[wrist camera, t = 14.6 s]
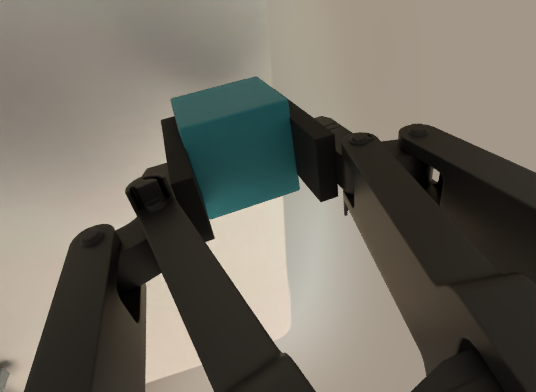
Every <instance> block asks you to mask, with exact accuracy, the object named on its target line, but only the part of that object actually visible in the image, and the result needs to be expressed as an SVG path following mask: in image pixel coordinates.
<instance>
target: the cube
mask: <svg viewBox="0 0 536 392" xmlns="http://www.w3.org/2000/svg"><path fill="white" fill-rule="evenodd" d="M171 104H172V108H173V111H174V115H175V119H176V123H177V127H178V131H179V133H180V136H181V139H182V142H183V145H184V148H185V149H186V152H187V155H188V158H189V161H190V164H191V167H192V169H193V172H194V175H195V178H196V181H197V184H198V187H199V190H200V192H201V195H202V198H203V201H204V204H205V207H206V211H207V214H208V217H209V219H214V218H217V217H220V216H223V215H226V214H229V213H232V212H235V211H238V210H241V209H244V208H247V207H250V206H253V205H256V204H259V203H262V202H265V201H268V200H271V199H274V198H277V197H280V196H283V195H286V194H289V193H292V192H295V191H298V190H299V189H300V187H299V179H298V174H297V168H296V161H295V154H294V146H293V139H292V132H291V124H290V112H289V104H288V99H287V98H285V97H284V96H283V95H281V94H280V93H279V92H277V91H276V90H274V89H273V88H272V87H270V86H269V85H268V84H266V83H265V82H263V81H262V80H261V79H259V78H258V77H256V76H255V77H252V78H248V79H244V80H240V81H236V82H232V83H229V84H225V85H221V86H217V87H213V88H210V89H206V90H202V91H198V92H194V93H190V94H187V95H183V96H179V97H175V98H172V99H171Z"/></svg>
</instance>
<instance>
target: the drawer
mask: <svg viewBox="0 0 536 392" xmlns="http://www.w3.org/2000/svg"><path fill="white" fill-rule="evenodd" d="M8 377H9V373H8V372H7V371H6V370H5V369H4V368H2V369H0V392H3V390H4V388H5V385H6V382H7V379H8Z"/></svg>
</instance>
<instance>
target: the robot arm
mask: <svg viewBox="0 0 536 392" xmlns="http://www.w3.org/2000/svg"><path fill="white" fill-rule="evenodd" d="M274 90H275V89H274ZM277 92H278V91H277ZM281 95H282V94H281ZM285 98H286V97H285ZM288 104H289V112H290V124H291V132H292V139H293V146H294V154H295V161H296V168H297V174H298V176H299V177H300V178H301V179H302V180H303V182H304V183H305V184H306V185H307V186H308V188H309V189H310V190H311V191H312V192H313V193H314V195H315V196H316V197H317V198H318V199H319V201H320V202H323V201H326V200H329V199H332V198H335V197H337V196H338V185H339V186H340V187H342V189H343V196H344V214H345V216H346V215H347V211H348V210H349V211H350V213H351V215H352V217H353V219H354V221H355V223H356V225H357V227H358V229H359V231H360V233H361V235H362V237H363V239H364V241H365V243H366V245H367V247H368V249H369V251H370V253H371V255H372V257H373V259H374V261H375V263H376V265H377V267H378V269H379V271H380V272H381V275H382V277H383V279H384V281H385V283H386V285H387V287H388V288H389V291H390V292H391V295H392V296H393V298H394V300H395V302H396V305H397V306H398V308H399V310H400V312H401V314H402V316H403V318H404V320H405V322H406V324H407V326H408V328H409V330H410V332H411V334H412V336H413V338H414V340H415V342H416V344H417V346H418V348H419V350H420V352H421V355H422V358H423V361H424V366H425V371H426V376H427V377H426V378H425V379H424V380H422V381H421V382H420V383H419V384H418V386H416V387H415V388H414V389H413V390H412V391H411V392H536V173H535V172H533V171H531V170H528V169H526V168H524V167H522V166H520V165H517V164H515V163H513V162H511V161H509V160H506V159H504V158H502V157H500V156H497V155H495V154H493V153H491V152H488V151H486V150H484V149H482V148H480V147H477V146H475V145H473V144H471V143H468V142H466V141H464V140H462V139H460V138H457V137H455V136H453V135H451V134H448V133H446V132H444V131H442V130H439V129H437V128H435V127H432V126H429V125H423V124H412V125H408V126H405V127H403V128H401V129H400V130H399V136H398V140H390V141H383V142H381V141H380V140H379V139H378V138H377V137H376V136H375V135H373V134H370V133H352V132H350V131H349V130H347V129H346V128H344V127H342V126H341V125H340V124H338V123H337V122H336V121H334V120H332V119H331V118H327V117H323V116H320V117H317V118H313V117H311V116H310V115H309V114H307V113H306V112H305V111H303V110H302V109H300V108H299V107H298V106H296V105H295V104H294V103H292V102H291V101H290V100H288ZM161 124H162V131H163V138H164V145H165V152H166V159H167V163H164V164H161V165H158V166H154V167H151V168H147V169H146V171H145V172H144V174H143V175H142V177H140V178H138V179H136V180H134V181H133V182H131V183H130V184H129V185H128V186H127V188H126V190H125V193H126V195H127V197H128V199H129V201H130V203H131V205H132V207H133V209H134V211H135V213H136V215H137V217H136V219H134V220H133V221H132V222H130V223H129V224H127V225H125V226H123V227H122V228H120V229H118V230H116V231H115V229H114V227H112V226H111V225H109V224H100V225H95V226H93V227H90V228H87V229H85V230H84V231H82V232H81V233H79V234H78V235H77V236H76V237H75V238H74V239H73V241H72V242H71V244H70V246H69V249H68V253H67V256H66V259H65V262H64V265H63V269H62V272H61V275H60V278H59V281H58V285H57V288H56V291H55V294H54V297H53V300H52V304H51V307H50V310H49V313H48V316H47V320H46V323H45V326H44V329H43V332H42V336H41V339H40V342H39V345H38V348H37V351H36V355H35V358H34V361H33V364H32V367H31V371H30V374H29V377H28V380H27V383H26V387H25V390H24V392H145V361H146V284H145V283H146V282H147V281H149V280H151V279H152V278H154V277H156V276H157V275H159V274H160V273H162V274H163V276H164V279H165V281H166V283H167V286H168V288H169V290H170V292H171V295H172V297H173V299H174V301H175V304H176V306H177V308H178V311H179V313H180V315H181V317H182V320H183V322H184V324H185V326H186V329H187V331H188V333H189V336H190V338H191V340H192V342H193V345H194V347H195V349H196V351H197V354H198V356H199V358H200V361H201V363H202V365H203V367H204V370H205V372H206V374H207V376H208V379H209V381H210V383H211V385H212V388H213V390H214V392H316V391H315V390H314V389H313V387H312V386H311V384H310V383H309V381H308V380H307V379H306V377H305V376H304V374H303V373H302V372H301V370H300V369H299V367H298V366H297V365H296V363H295V362H294V361H293V360H292V358H291V357H290V356H289V355H288V354H287V353H282V352H281V351H280V350H279V349H278V348H277V346H276V345H275V344H274V342H273V341H272V339H271V338H270V336H269V335H268V333H267V332H266V330H265V329H264V327H263V326H262V325H261V323H260V322H259V320H258V319H257V317H256V316H255V314H254V313H253V311H252V310H251V308H250V307H249V306H248V304H247V303H246V301H245V300H244V298H243V297H242V295H241V294H240V292H239V291H238V289H237V288H236V287H235V285H234V284H233V282H232V281H231V279H230V278H229V276H228V275H227V273H226V272H225V270H224V269H223V268H222V266H221V265H220V263H219V262H218V260H217V259H216V257H215V256H214V254H213V253H212V252H211V250H210V249H209V247H208V246H207V244H206V243H205V242H207V241H210V240H212V239H215V238H214V235H213V231H212V228H211V224H210V221H209V217H208V214H207V211H206V207H205V204H204V201H203V198H202V195H201V192H200V190H199V187H198V184H197V181H196V178H195V175H194V172H193V169H192V167H191V164H190V161H189V158H188V155H187V152H186V149H185V148H184V145H183V142H182V139H181V136H180V133H179V131H178V127H177V123H176V119H175V116H174V117H170V118H166V119H163V120H161ZM433 168H434V169H436V170H437V171H439V172H440V176H439V181H438V182H436V181H434V180H433V179H432V175H433ZM337 184H338V185H337Z"/></svg>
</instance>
